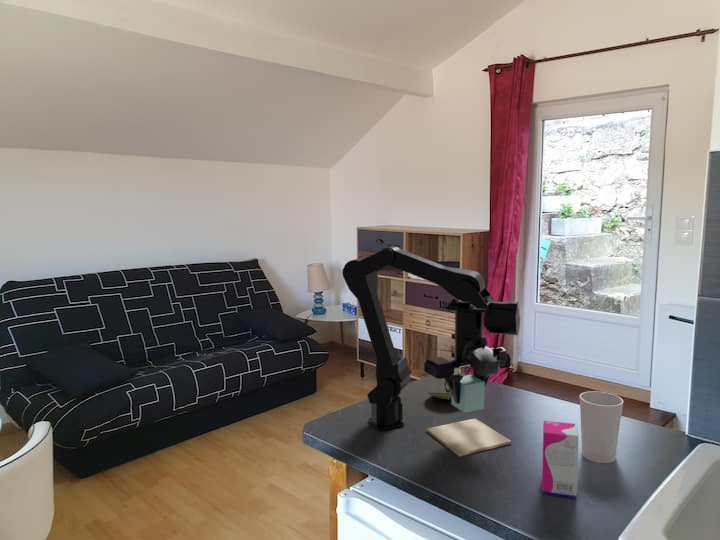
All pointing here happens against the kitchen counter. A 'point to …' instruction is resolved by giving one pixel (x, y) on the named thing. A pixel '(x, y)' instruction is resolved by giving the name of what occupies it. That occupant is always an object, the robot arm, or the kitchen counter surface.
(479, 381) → the teal block
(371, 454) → the kitchen counter surface
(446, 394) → the lid
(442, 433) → the pad
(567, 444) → the supplement box
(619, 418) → the cup
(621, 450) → the kitchen counter surface
